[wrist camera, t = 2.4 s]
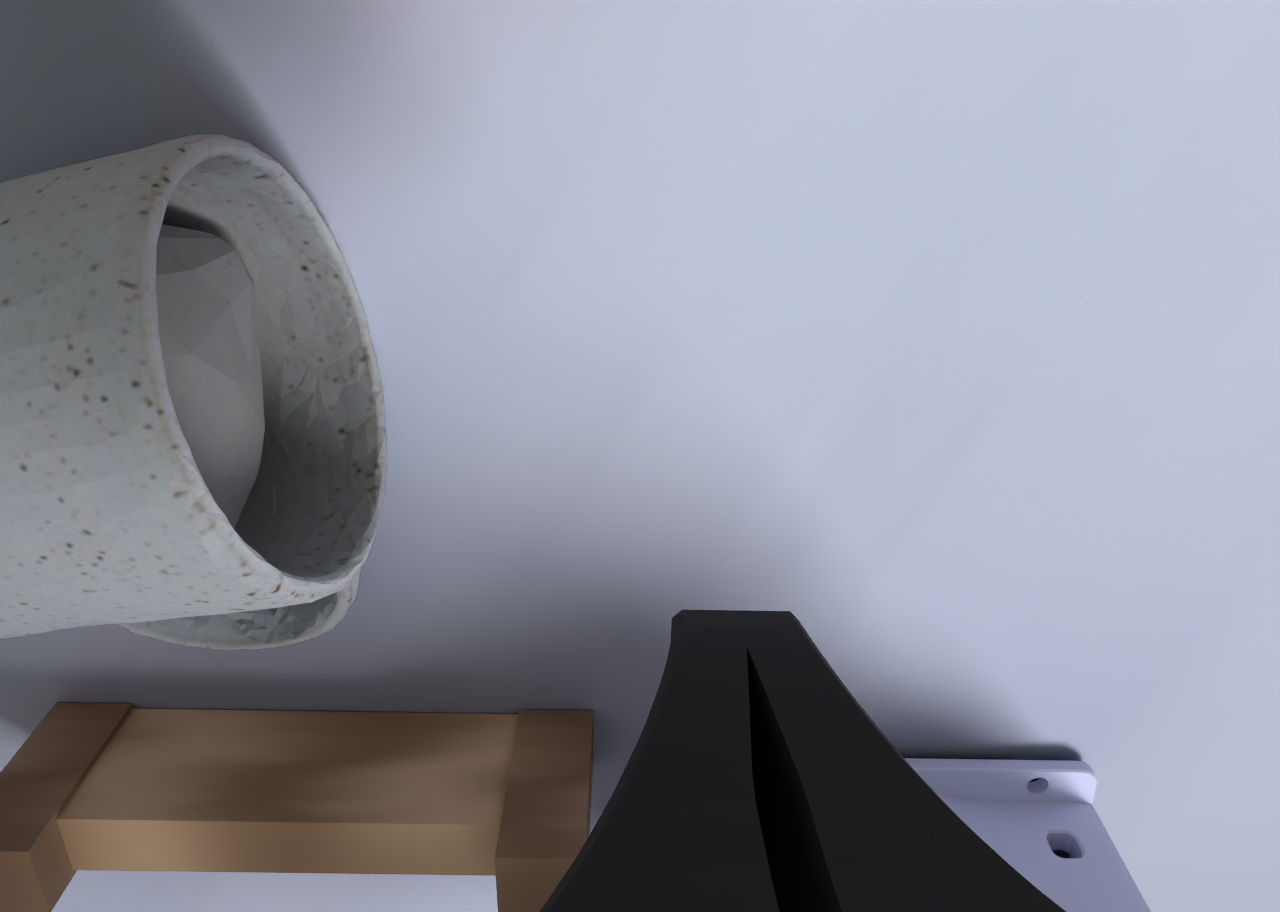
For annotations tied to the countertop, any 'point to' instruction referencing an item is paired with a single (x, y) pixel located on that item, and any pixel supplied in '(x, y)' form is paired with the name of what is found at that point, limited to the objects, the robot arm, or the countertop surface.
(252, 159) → the ceramic mug
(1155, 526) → the countertop surface
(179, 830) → the cedar frame
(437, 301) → the countertop surface
